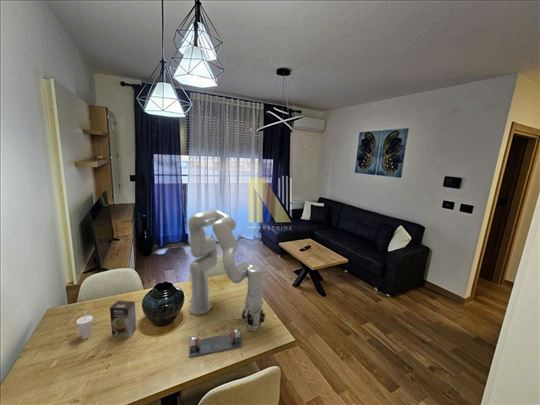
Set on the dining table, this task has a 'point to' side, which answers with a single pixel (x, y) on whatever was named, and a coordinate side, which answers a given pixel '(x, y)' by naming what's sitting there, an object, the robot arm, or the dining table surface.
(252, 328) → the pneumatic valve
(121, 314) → the coffee box
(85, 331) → the smoothie
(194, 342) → the grey bracket
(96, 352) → the dining table surface
